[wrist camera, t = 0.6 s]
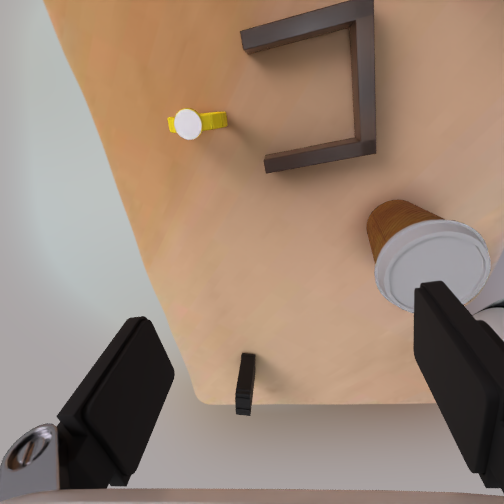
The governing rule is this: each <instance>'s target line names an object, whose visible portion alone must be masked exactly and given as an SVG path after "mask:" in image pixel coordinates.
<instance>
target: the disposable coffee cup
mask: <svg viewBox="0 0 504 504" xmlns="http://www.w3.org/2000/svg"><path fill="white" fill-rule="evenodd" d="M367 234H368V237H369V241H370V245H371V249H372V253H373V258H374V261H375V272H374V274H375V281H376V284H377V287H378V289H379V291H380V292H381V294H382V295H383V296H384V297H385V298H386V299H387V300H388V301H390V302H391V303H393V304H395V305H397V306H398V307H400V308H401V309H403V310H406V311H408V312H411V313H414V290H415V288H420V284H421V283H423V282H432V281H440V280H441V281H443V282H444V283H445V284H446V285H447V286H448V288H449V289H450V290H451V291H452V292H453V294H454V295H455V296H456V297H457V298H458V299H459V301H460V302H461V303H462V304H465V303H467V302H468V301H469V300H470V299H472V298H473V297H474V296H475V295H477V294H478V292H479V291H480V290H481V288H482V287H483V286H484V285H485V283H486V281H487V278H488V275H489V273H490V257H489V254H488V248H487V246H486V243H485V241H484V239H483V238H482V237H481V235H480V234H479V233H478V232H477V231H476V230H474V229H473V228H471V227H470V226H468V225H466V224H464V223H461V222H457V221H454V220H445V219H443V218H441V217H439V216H437V215H435V214H433V213H430V212H428V211H426V210H424V209H422V208H420V207H418V206H416V205H414V204H412V203H410V202H408V201H404V200H392V201H388V202H386V203H384V204H382V205H380V206H378V207H377V208H376V209H375V210H374V211H373V212H372V214H371V215H370V217H369V219H368V221H367Z"/></svg>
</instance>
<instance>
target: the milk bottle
mask: <svg viewBox="0 0 504 504" xmlns="http://www.w3.org/2000/svg"><path fill="white" fill-rule="evenodd" d="M473 317H474V318H475V319H476V320H483V321H485V322H486V323H487V324H489V325H490V326H491V328H492V329H493V330H494V331H495V332H496V333H497V334H498V335H499V337H500V338H501V339H502V340H503V341H504V308H499V307H497V308H489V309H485V310H482V311H480V312H478V313H476V314H474V315H473Z"/></svg>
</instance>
